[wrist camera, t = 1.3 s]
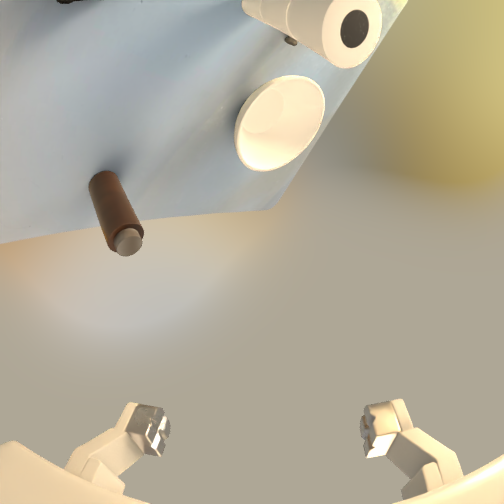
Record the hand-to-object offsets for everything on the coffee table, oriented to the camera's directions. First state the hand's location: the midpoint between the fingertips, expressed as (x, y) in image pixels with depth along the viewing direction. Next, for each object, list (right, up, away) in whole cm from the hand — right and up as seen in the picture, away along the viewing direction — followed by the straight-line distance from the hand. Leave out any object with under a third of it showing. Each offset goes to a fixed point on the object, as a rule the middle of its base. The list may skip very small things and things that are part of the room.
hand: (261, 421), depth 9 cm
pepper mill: (-24, +17, +29) cm, 41 cm away
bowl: (+1, +33, +37) cm, 50 cm away
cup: (0, +43, +18) cm, 47 cm away
